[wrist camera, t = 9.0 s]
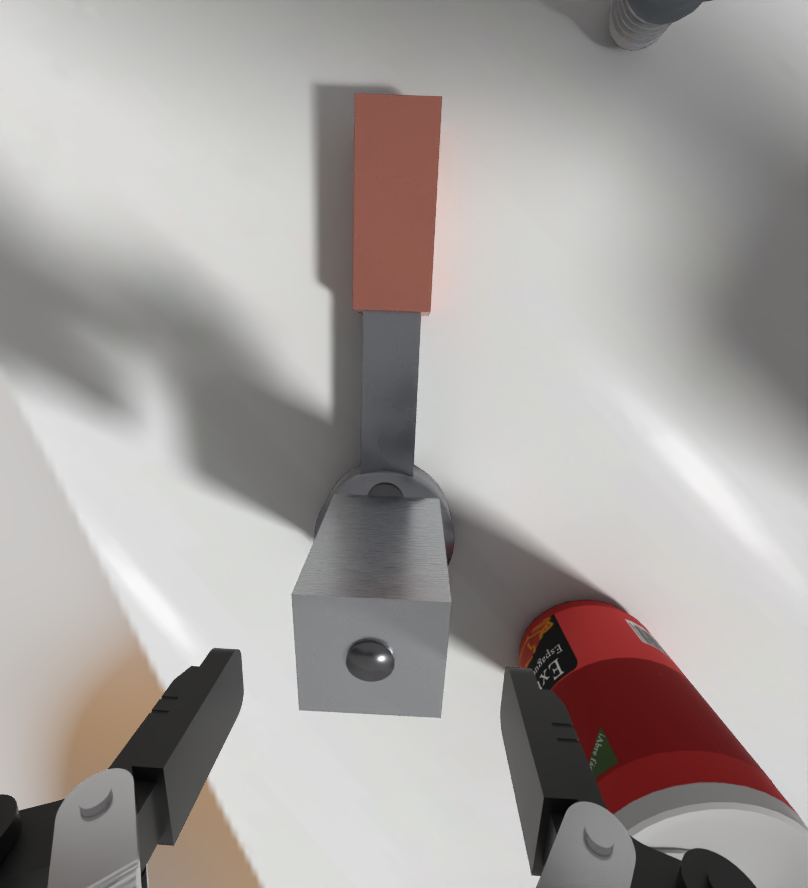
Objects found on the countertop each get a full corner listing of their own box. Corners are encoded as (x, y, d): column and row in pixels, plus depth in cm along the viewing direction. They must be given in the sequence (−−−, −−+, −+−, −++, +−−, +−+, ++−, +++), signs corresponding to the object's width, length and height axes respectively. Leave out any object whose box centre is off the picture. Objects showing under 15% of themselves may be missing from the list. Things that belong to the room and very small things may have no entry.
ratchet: (322, 124, 18) (284, 33, 13) (478, 129, 18) (506, 40, 13) (325, 572, 24) (299, 639, 18) (445, 578, 24) (454, 647, 18)
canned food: (517, 595, 24) (602, 801, 13) (656, 594, 23) (858, 804, 13) (511, 701, 26) (581, 959, 15) (640, 702, 25) (804, 964, 15)
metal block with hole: (439, 498, 19) (452, 605, 12) (432, 586, 21) (441, 721, 14) (334, 493, 19) (289, 597, 12) (336, 581, 21) (298, 714, 14)
